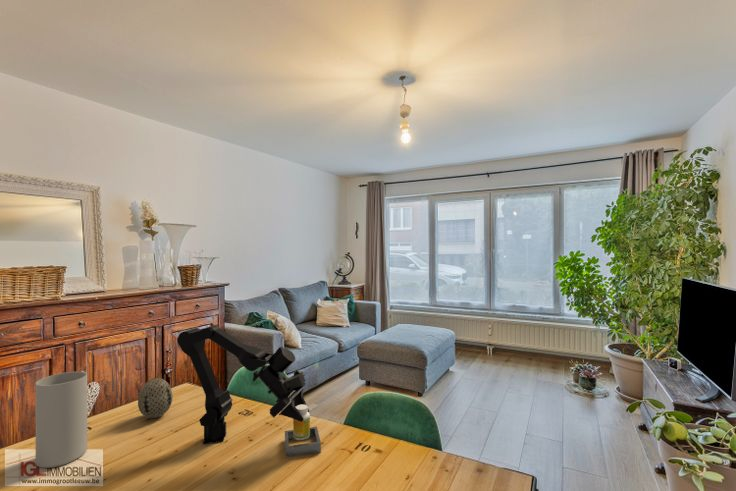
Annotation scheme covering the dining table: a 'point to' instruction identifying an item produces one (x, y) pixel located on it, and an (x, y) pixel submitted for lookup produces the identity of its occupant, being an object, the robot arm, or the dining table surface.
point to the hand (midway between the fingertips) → (305, 416)
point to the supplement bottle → (302, 424)
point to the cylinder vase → (61, 418)
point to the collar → (302, 448)
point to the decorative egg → (155, 398)
